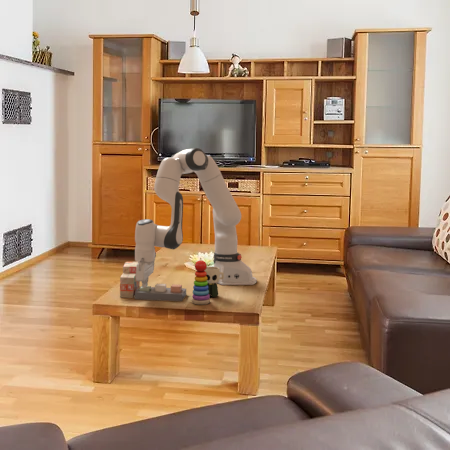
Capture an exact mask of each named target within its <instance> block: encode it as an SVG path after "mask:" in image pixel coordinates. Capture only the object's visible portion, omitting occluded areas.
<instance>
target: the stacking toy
mask: <svg viewBox="0 0 450 450" xmlns="http://www.w3.org/2000/svg"><path fill="white" fill-rule="evenodd" d="M207 265H208V264H207V262H206V261H204V260H202V259H201V260H197V261H196V262H195V264H194V268H195V270H196V271H195V272H194V281H193V290H192V298H191V303H192V304H193V305H198V306H203V305H205V306H206V305H208V304H210V302H211V299H210V297H211V295H209V294H208V293H209V290H208V285H207V284H208V282H207V276H206V275H207V273H206V272H205V270H206V268H207V267H208V266H207Z"/></svg>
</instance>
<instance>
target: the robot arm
mask: <svg viewBox="0 0 450 450" xmlns="http://www.w3.org/2000/svg"><path fill="white" fill-rule="evenodd" d="M192 173H195V174H196V176H197V178H198V181H199V183H200V185H201V188H202V190H203V192H204V194H205V196H206V198H207V199H208V201H209V204H210V205H211V207H212V218H213V219H212V220H213V230H214V231H213V232H214V252H213V267H218V268H220V272H223V273H224V279H219V282H217V283H216V284H219V285H223V286H232V285H233V286H234V285H235V286H245V285H247V286H249V285H250V286H251V285H255V284H256V283H257V282H258V281H257V277H255V276H253V272H252V268H251V267H250V266H249V265H247V264H246V263H245V262H244V261H243V260H242V254H241V253H239V252H238V233H237V227H236V226H237V225H239V223H240V222H241V220H242V212H241V210H240V208H239V206H238V203H237V202H236V200H235V199H234V197H233V195H232V192H231V191H230V189H229V188H228V186H227V184H226V181H225V179H224V177H223V174H222V172H221V169H220V168H219V166H218V164H217V163H216V161H215V160H214V159H213V157H212V156H211V155H208V154H206V153H205V151H204V150H203V149H202V148H198V147H192V148H191V147H190V148H187V149H183V150H181V151H178V152H175V153H174V154H172V155H171V157H165V158H164V159H162V160H161V162H160V164H159V165H158V170H157V173H156V176H155V180H154V185H153V186H154V187H153V191H154V192H155V194H156V196H157V197H158V198H159V199H161V200H162V201H164V202H166V203H168V204H169V205H170V208H171V215H170V216H171V217H170V225H169V226H168V225H158V224H157V223H155V221H154V220H153V219H149V218H145V219H141V220H140V219H139V220H138V221H137V222H136V224H135V231H134V243H135V247H134V262H138V264H137V266H136V281H140V282H141V286H142V287H143V288H146V287H147V286H149V285H148V282H149V277H150V276H151V275H152V274H153V273H154V271H155V270H154V269H155V261H156V257H157V255H156V254H157V253H156V248H157V247H158V248H165V249H169V250H176V249H178V248H179V247H180V246H181V245H182V244H183V241H184V240H183V238H184V233H183V217H184V197H183V194H182V193H181V192H180V190H179V189H180V181H181V177H182V175H184V174H192ZM219 277H222V274H220V276H219Z"/></svg>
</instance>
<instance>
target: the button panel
mask: <svg viewBox="0 0 450 450" xmlns="http://www.w3.org/2000/svg"><path fill="white" fill-rule="evenodd" d="M186 296H187V288H185V287H184V288H183V287H182V292H181V293H176V292H171V287H166V292H155V286H153V287H152V286H151V290H150V291H140V287H139V289H138V290H137V291H136V292H135V296H134V300H148V301H149V300H150V301H168V302H169V301H173V302H183V300H184V299H185V298H186Z"/></svg>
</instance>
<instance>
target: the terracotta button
mask: <svg viewBox="0 0 450 450" xmlns="http://www.w3.org/2000/svg"><path fill="white" fill-rule="evenodd" d="M170 288H171V292H176V293H181V292H182V288H183V285H182V284H175V283H173V284H171V285H170Z"/></svg>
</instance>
